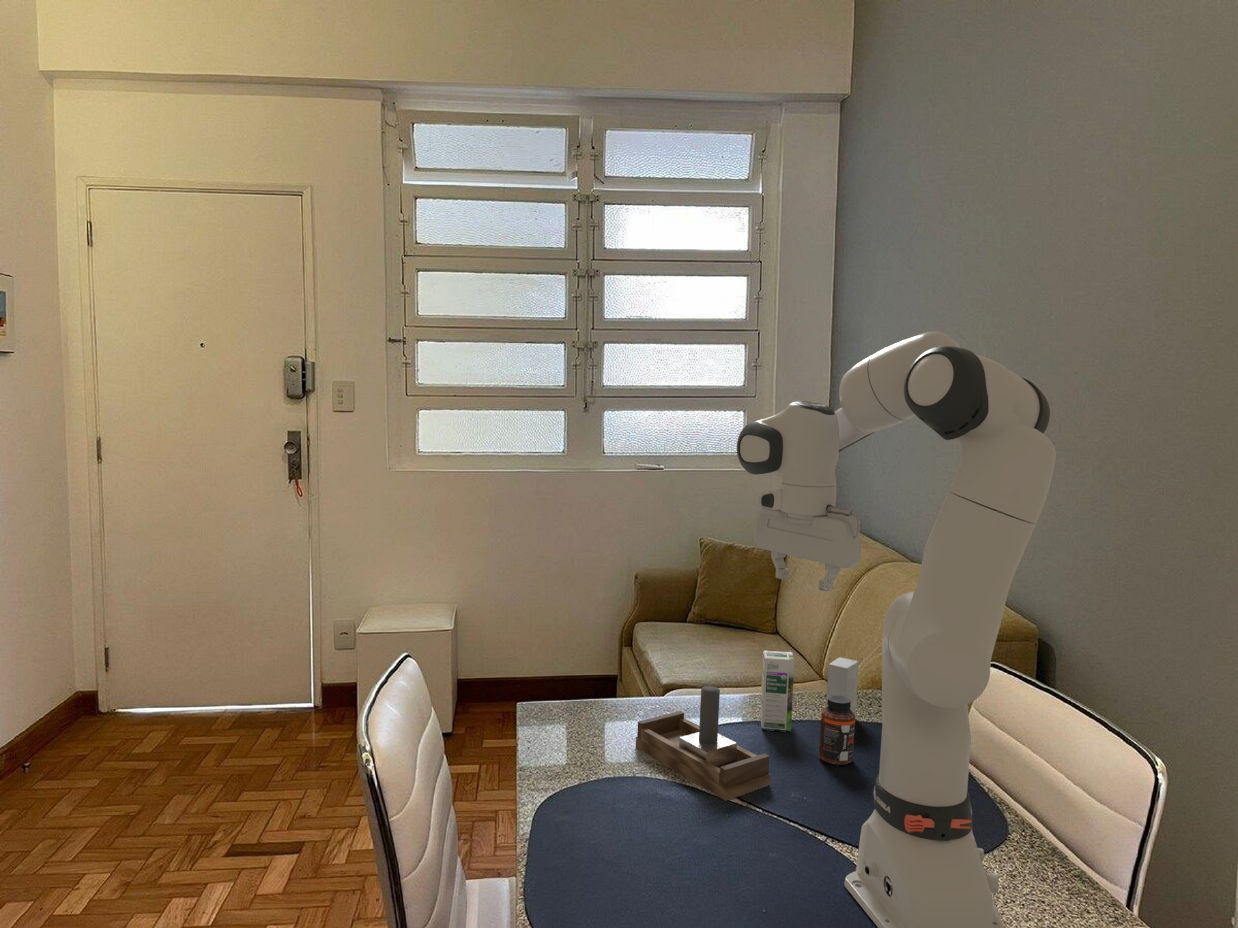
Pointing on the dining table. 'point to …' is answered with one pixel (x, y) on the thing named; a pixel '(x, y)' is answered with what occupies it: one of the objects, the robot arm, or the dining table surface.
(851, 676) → the skincare box
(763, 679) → the syrup box
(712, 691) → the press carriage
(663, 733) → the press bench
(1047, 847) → the dining table surface
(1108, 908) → the dining table surface
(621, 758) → the dining table surface
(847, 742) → the supplement bottle
